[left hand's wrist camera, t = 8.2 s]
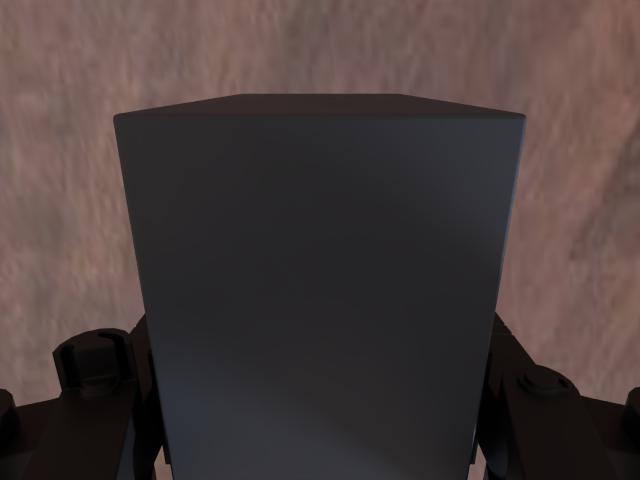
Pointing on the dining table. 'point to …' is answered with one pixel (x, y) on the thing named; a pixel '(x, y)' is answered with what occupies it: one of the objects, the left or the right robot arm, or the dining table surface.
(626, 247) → the dining table surface
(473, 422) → the bar
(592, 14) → the dining table surface
